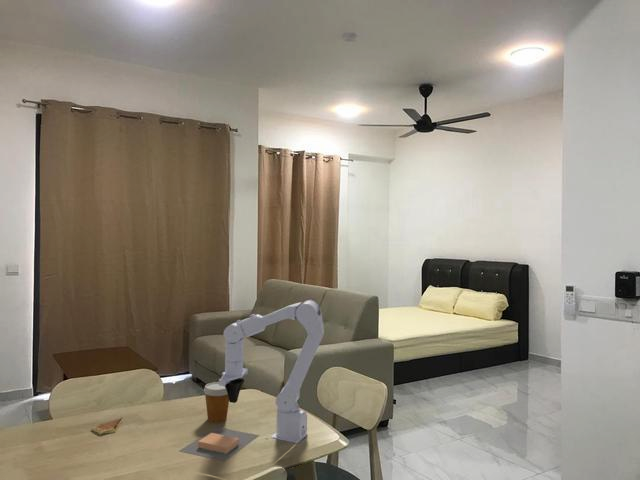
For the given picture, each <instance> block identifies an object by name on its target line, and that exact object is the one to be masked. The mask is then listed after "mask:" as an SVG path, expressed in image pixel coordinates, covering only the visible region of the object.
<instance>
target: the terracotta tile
mask: <svg viewBox="0 0 640 480" xmlns="http://www.w3.org/2000/svg"><path fill="white" fill-rule="evenodd" d="M238 445H239V438H235V437H230V436H225V435H220V434H215V433H210V434H209V435H207V436H206V437H204V438H202V439H201V440H199V441H198V447H199V448H201V449H205V450H210V451H214V452H219V453H223V454H227V453H228V452H230V451H231V450H233V449H234V448H235V447H237V446H238Z"/></svg>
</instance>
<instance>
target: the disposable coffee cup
mask: <svg viewBox="0 0 640 480" xmlns="http://www.w3.org/2000/svg"><path fill="white" fill-rule="evenodd" d="M203 392H204V398H205V405H206V414H207V415H206V416H207V421H208V422H210V423H216V424H218V423H222V422H223V423H224V422H226V421H227V419H228V418H227V417H228V412H229V405H230V401H229V397H228V393H227V390H226V388H225V386H220V385H219V381H217V382H215V381H214V382H210V383H207V384H205V386H204V389H203Z"/></svg>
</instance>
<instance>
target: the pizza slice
mask: <svg viewBox="0 0 640 480" xmlns="http://www.w3.org/2000/svg"><path fill="white" fill-rule="evenodd" d="M122 420H123V417H120V418H117V419H114V420H108V421H107V422H103V423H99V424H97V425H93V426H92V427H91V430H92V431H93V432H95V433H97V434H99V435H104V434H111V433H116V432H117V429H118V428H119V426H120V425H121V424H122Z"/></svg>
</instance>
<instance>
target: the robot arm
mask: <svg viewBox="0 0 640 480" xmlns="http://www.w3.org/2000/svg"><path fill="white" fill-rule="evenodd" d="M286 319H289V320H292V321H296V320H297V321H298V323H300V324H301V325H302V326H303V327H304V329H305V331H306V334H307V336H306V339H305V340H304V343H303V346H302V348H301V350H300V352H299V354H298V356H297V358H296V362H295V363H294V366H293V368H292V370H291V372H290V375H289V378H288V380H287V381H286V383H285V385H284V386H283V387H282V389H281V390H280V392H279V394H277V396H276V397H275V406H276V430H275V431H276V432H275V433H273V434H272V435H271V436H270V437H271V439H276V440H280V441H284V442H285V441H286V442H290V443H295V444H299V443H300V442H301V441H303V439H304V438H305V437H307V436H308V413H307V411H305V410H302V409H300V405H299V403H298V400H299V399H300V396H301V388H302V385H303V383H304V380H305V378H306V375H307V374H308V372H309V368H310V366H311V364H312V362H313V360H314V357H315V355H316V353H317V351H318V348H319V346H320V344H321V342H322V339H323V337H324V335H325V328H324V322H323V321H324V320H323V311H322V309H321V307H320V306H319V304H318V303H317V302H316V301H314V300H312V299H307V300H305V301H304V302H302V301H301V302H296V303H293V304H290V305H287V306H285V307H283V308H280V309H278V310H275V311H273V312H271V313H268V314H265V315H261V314H259V313H258V314H255V313H251V314H249V317H247V318H244V319H237V320H236V322H233V323H231V324H229V325H228V326H226V327H225V328H224V330H223V335H222V336H223V338H224V340H225V346H224V347H225V348H224V349H225V351H224V352H225V354H224V358H225V359H224V371H223V372H222V373H221V375H222V376H221V378H219V379H218V382H219V385H220V386H225V388H226V390H227V393H228V397H229V403H233V404H236V403H238V400H239V399H238V398H239V395H240V392H241V390H242V387H243V385H244V383H245V379H244V378H243V377H244V376H247V375H249V374H248V370H249V369H248V368H245V367H244V338H249V337H251V336H255V335H257V334H259V333H261V332H264V331H265V329H266V327H267V326H269V325H272V324H276V323H278V322H281V321H283V320H286Z"/></svg>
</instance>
